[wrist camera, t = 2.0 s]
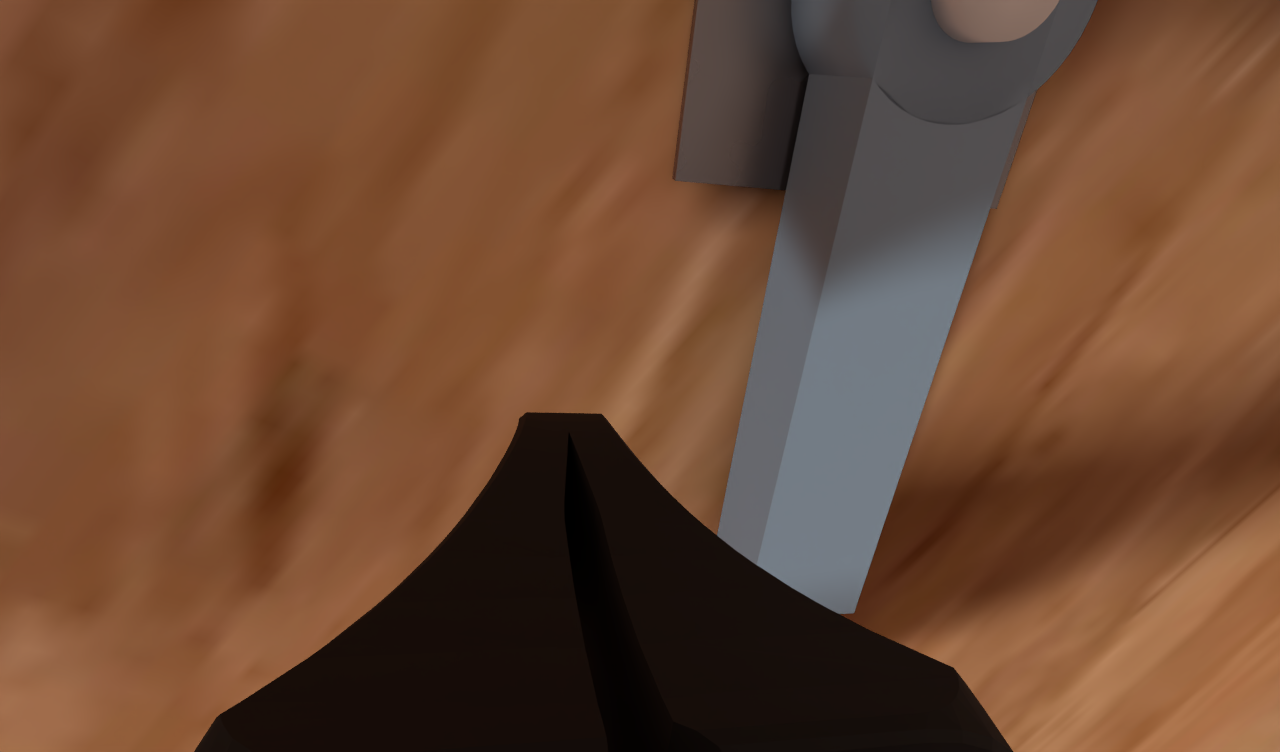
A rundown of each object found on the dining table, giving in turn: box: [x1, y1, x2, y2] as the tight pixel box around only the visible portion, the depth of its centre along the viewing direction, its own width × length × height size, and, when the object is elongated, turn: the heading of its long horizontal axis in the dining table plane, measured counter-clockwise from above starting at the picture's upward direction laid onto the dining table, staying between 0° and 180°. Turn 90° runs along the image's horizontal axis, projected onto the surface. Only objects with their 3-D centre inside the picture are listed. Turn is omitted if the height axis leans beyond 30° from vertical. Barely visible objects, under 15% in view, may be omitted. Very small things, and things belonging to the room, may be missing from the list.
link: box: [717, 0, 1097, 614], centre depth 14 cm, size 16×4×4 cm, turn 174°
